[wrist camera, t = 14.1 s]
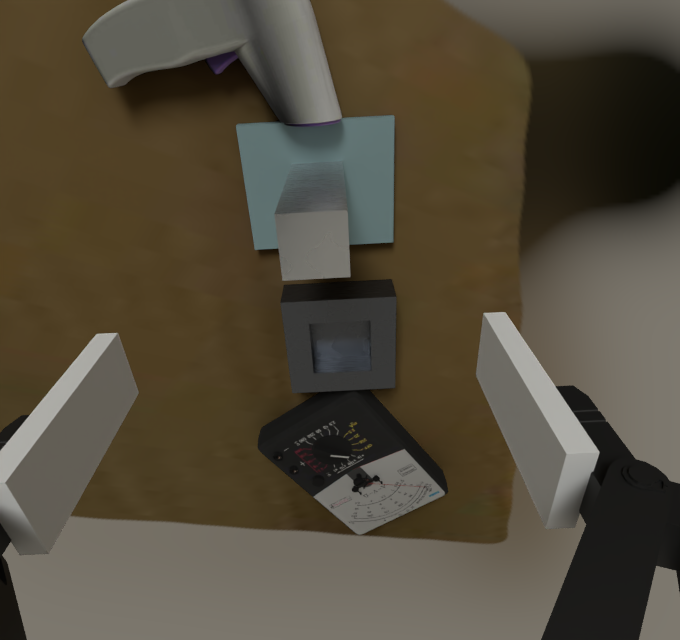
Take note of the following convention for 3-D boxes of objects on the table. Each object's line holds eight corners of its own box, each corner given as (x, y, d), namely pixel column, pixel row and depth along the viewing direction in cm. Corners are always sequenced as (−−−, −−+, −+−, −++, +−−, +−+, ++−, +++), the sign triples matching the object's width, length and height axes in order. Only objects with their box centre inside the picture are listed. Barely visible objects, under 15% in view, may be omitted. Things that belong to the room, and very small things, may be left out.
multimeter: (353, 368, 48) (355, 399, 44) (444, 469, 56) (454, 504, 52) (259, 425, 52) (252, 459, 48) (357, 512, 60) (359, 548, 56)
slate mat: (256, 245, 41) (254, 249, 40) (238, 123, 36) (235, 125, 35) (391, 238, 40) (393, 242, 40) (392, 115, 35) (394, 116, 35)
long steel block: (296, 213, 38) (282, 280, 27) (291, 163, 36) (274, 214, 25) (344, 210, 38) (350, 277, 27) (342, 160, 36) (347, 210, 25)
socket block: (294, 371, 48) (292, 393, 45) (284, 285, 43) (280, 302, 40) (390, 366, 48) (395, 388, 45) (391, 279, 43) (396, 296, 39)
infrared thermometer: (97, 21, 33) (285, -78, 30) (184, 180, 39) (350, 113, 36) (61, 19, 29) (273, -95, 26) (164, 196, 35) (348, 122, 32)
